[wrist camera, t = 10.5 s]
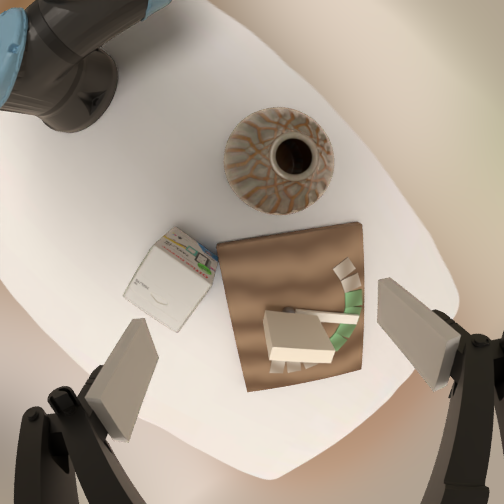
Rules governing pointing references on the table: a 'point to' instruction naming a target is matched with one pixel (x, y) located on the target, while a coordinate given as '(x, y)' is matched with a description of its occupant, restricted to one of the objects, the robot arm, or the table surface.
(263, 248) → the board
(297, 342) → the cream dial pointer
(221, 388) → the table surface
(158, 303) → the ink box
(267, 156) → the vase
